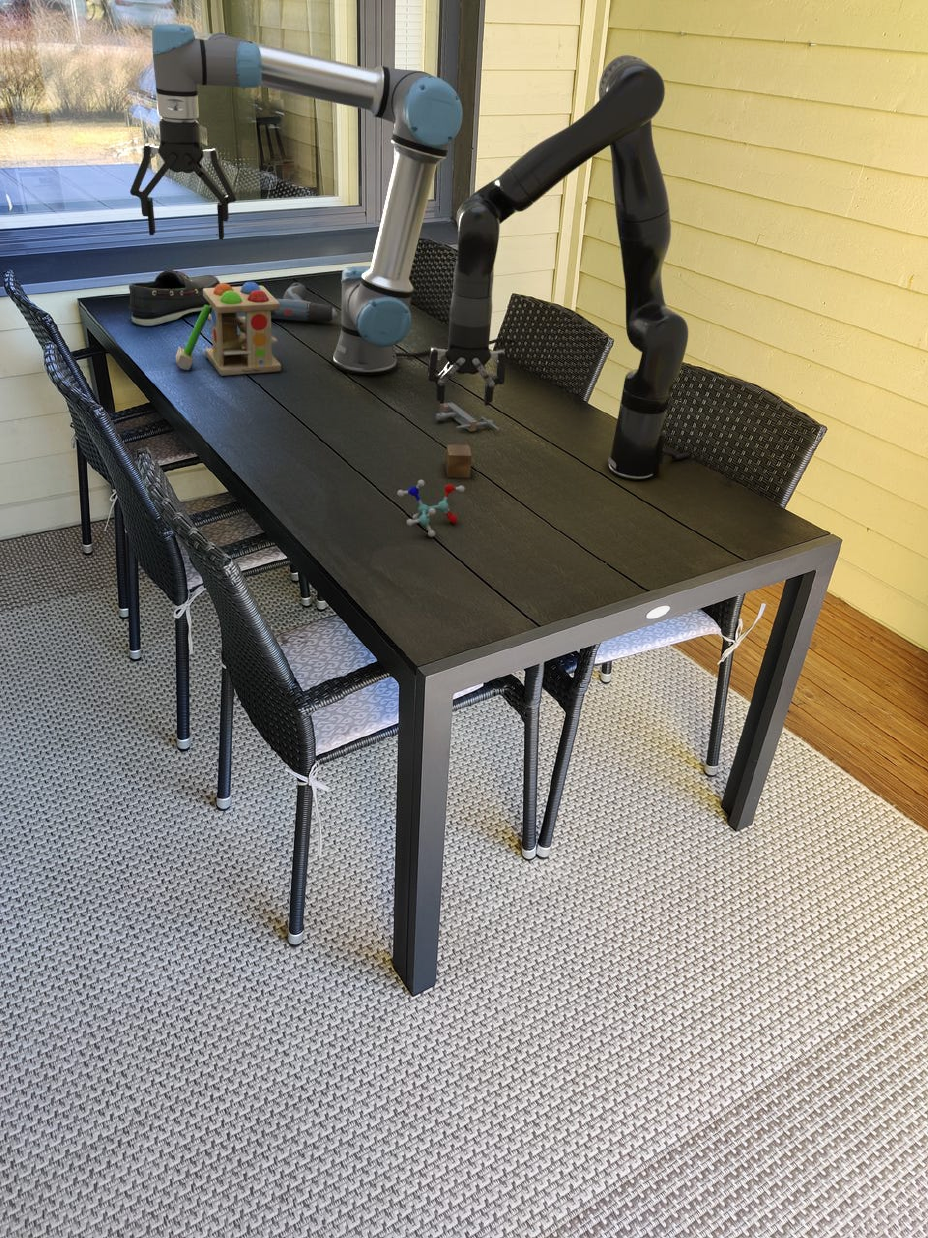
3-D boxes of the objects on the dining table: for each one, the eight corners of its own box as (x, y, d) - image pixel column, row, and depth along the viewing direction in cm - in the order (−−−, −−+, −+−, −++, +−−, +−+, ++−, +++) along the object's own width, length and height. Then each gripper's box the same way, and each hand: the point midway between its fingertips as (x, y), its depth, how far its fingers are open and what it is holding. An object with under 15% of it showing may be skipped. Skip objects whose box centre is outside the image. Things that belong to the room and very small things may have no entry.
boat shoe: (241, 304, 270) (238, 265, 264) (149, 328, 246) (144, 285, 240) (207, 295, 275) (204, 257, 270) (113, 318, 251) (108, 276, 246)
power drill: (344, 304, 276) (335, 327, 259) (277, 298, 275) (264, 321, 258) (344, 285, 273) (335, 306, 256) (277, 279, 272) (264, 300, 255)
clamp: (428, 404, 215) (467, 399, 219) (427, 414, 216) (466, 408, 220) (462, 431, 204) (502, 425, 209) (461, 441, 205) (501, 434, 210)
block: (447, 477, 191) (449, 454, 189) (445, 466, 195) (446, 444, 193) (469, 477, 192) (471, 455, 189) (467, 466, 196) (469, 444, 193)
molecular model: (455, 530, 166) (436, 473, 165) (406, 545, 170) (387, 490, 168) (476, 520, 177) (458, 467, 175) (430, 535, 180) (412, 483, 179)
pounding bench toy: (183, 379, 220) (176, 299, 210) (169, 357, 231) (162, 280, 221) (282, 371, 230) (280, 294, 220) (264, 350, 240) (262, 276, 230)
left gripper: (106, 116, 181) (119, 236, 193) (244, 127, 185) (248, 244, 197) (114, 110, 188) (126, 227, 200) (247, 121, 191) (251, 234, 203)
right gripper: (432, 323, 173) (427, 409, 182) (512, 326, 174) (503, 412, 184) (429, 309, 179) (425, 394, 188) (506, 313, 181) (498, 396, 190)
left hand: (187, 235), depth 198 cm, fingers open, 13 cm apart
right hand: (464, 403), depth 186 cm, fingers open, 8 cm apart
